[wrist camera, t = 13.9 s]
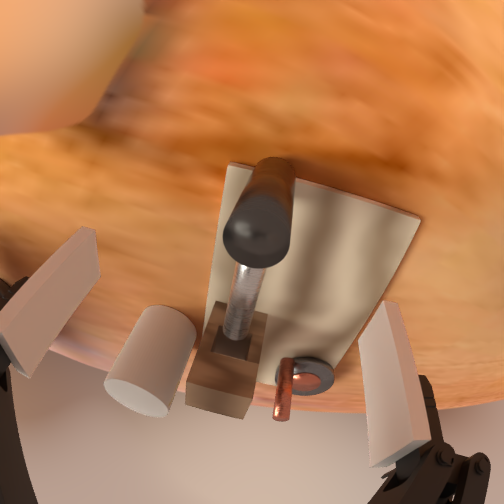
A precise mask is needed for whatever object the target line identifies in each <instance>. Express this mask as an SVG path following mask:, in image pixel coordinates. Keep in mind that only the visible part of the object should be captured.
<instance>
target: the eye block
mask: <svg viewBox="0 0 504 504" xmlns="http://www.w3.org/2000/svg"><path fill="white" fill-rule="evenodd" d="M254 168H255V167H252V166H247V165H243V164H239V163H234V162H230V163H229V164H228V168H227V173H226V179H225V185H224V191H223V197H222V203H221V209H220V215H219V221H218V227H217V234H216V240H215V247H214V253H213V260H212V267H211V274H210V281H209V288H208V295H207V303H206V310H205V318H204V326H203V334H202V339H201V342H200V345H199V347H198V350H197V353H196V356H195V358H194V361H193V364H192V367H191V370H190V372H189V375H188V378H187V381H186V398H185V400H186V401H185V404H186V405H189V406H192V407H196V408H199V409H203V410H206V411H210V412H214V413H217V414H222V415H226V416H230V417H234V418H239V419H243V418H244V416H245V414H246V412H247V410H248V408H249V406H250V403H251V401H252V399H253V394H254V389H255V383H256V382H260V383H264V384H269V385H274V386H277V385H276V383H275V373H276V369H277V367H278V366H279V365H280V360H281V359H282V358H284V357H289V358H296V357H313V358H318V359H321V360H324V361H326V362H327V363H329V364H330V365H331V366H332V367H333V369H334V368H335V367H336V366H337V364H338V363H339V361H340V360H341V358H342V357H343V356H344V354H345V353H346V351H347V350H348V348H349V347H350V345H351V344H352V342H353V341H354V339H355V338H356V336H357V335H358V333H359V332H360V330H361V328H362V327H363V325H364V324H365V322H366V321H367V319H368V317H369V316H370V314H371V313H372V311H373V309H374V308H375V306H376V304H377V303H378V301H379V299H380V298H381V296H382V294H383V292H384V291H385V289H386V287H387V285H388V284H389V282H390V280H391V278H392V277H393V275H394V273H395V271H396V269H397V267H398V266H399V264H400V262H401V260H402V258H403V256H404V254H405V252H406V250H407V248H408V246H409V245H410V243H411V241H412V239H413V236H414V234H415V232H416V230H417V228H418V226H419V224H420V222H421V220H420V218H419V217H418V216H417V215H414V214H411V213H408V212H406V211H403V210H400V209H397V208H394V207H391V206H388V205H385V204H382V203H379V202H376V201H373V200H370V199H367V198H364V197H361V196H358V195H354V194H351V193H348V192H345V191H341V190H338V189H335V188H331V187H328V186H324V185H321V184H317V183H314V182H310V181H307V180H303V179H299V178H296V182H295V194H294V206H293V217H292V228H291V238H290V247H289V250H288V253H287V255H286V256H285V257H284V259H283V260H282V261H281V262H279V263H278V264H276V265H274V266H272V267H268V268H267V269H266V272H265V276H264V279H263V283H262V286H261V290H260V293H259V297H258V300H257V304H256V307H255V310H254V314H253V317H252V321H251V324H250V327H249V331H248V334H247V336H246V337H245V338H244V339H242V340H232V339H229V338H228V337H226V336H225V334H224V333H223V325H224V320H225V315H226V310H227V305H228V300H229V295H230V290H231V285H232V280H233V275H234V271H235V266H236V261H235V260H234V259H233V258H232V257H231V256H230V255H229V254H228V252H227V251H226V249H225V247H224V244H223V230H224V227H225V225H226V223H227V221H228V219H229V217H230V215H231V213H232V211H233V209H234V207H235V205H236V203H237V201H238V199H239V197H240V195H241V193H242V191H243V189H244V187H245V185H246V183H247V181H248V179H249V177H250V175H251V173H252V171H253V170H254Z"/></svg>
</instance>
